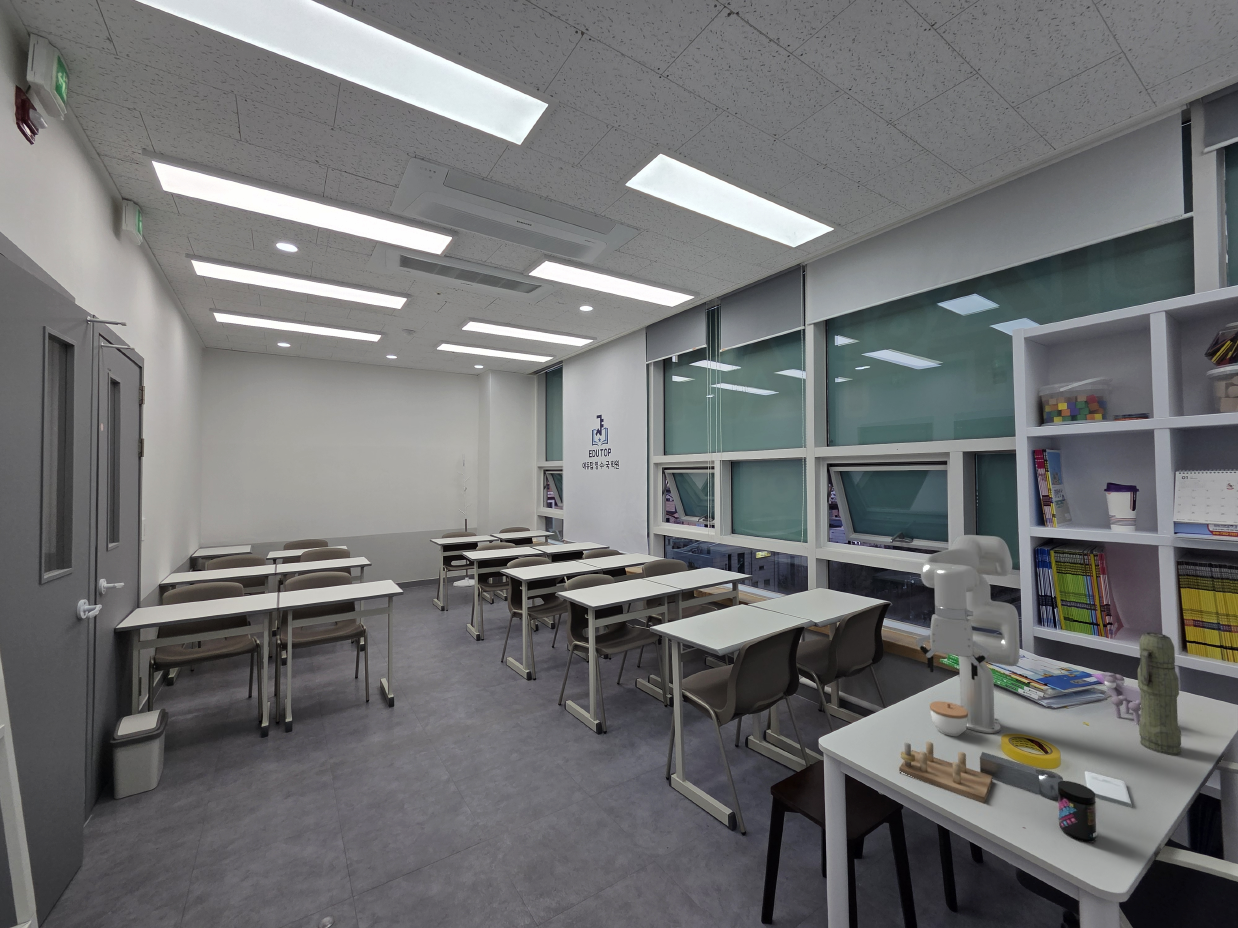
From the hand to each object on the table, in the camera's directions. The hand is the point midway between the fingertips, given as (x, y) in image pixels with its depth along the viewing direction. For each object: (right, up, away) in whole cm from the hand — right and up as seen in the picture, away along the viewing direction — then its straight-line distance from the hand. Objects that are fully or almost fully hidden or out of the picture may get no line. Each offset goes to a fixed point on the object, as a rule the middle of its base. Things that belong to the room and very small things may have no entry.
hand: (952, 674), depth 142 cm
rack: (-1, -30, +2) cm, 30 cm away
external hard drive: (+39, -30, -5) cm, 49 cm away
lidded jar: (+17, -31, +27) cm, 44 cm away
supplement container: (+16, -29, -21) cm, 39 cm away
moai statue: (+76, -30, +17) cm, 83 cm away
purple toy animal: (+86, -31, +37) cm, 98 cm away
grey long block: (+17, -29, -2) cm, 34 cm away
